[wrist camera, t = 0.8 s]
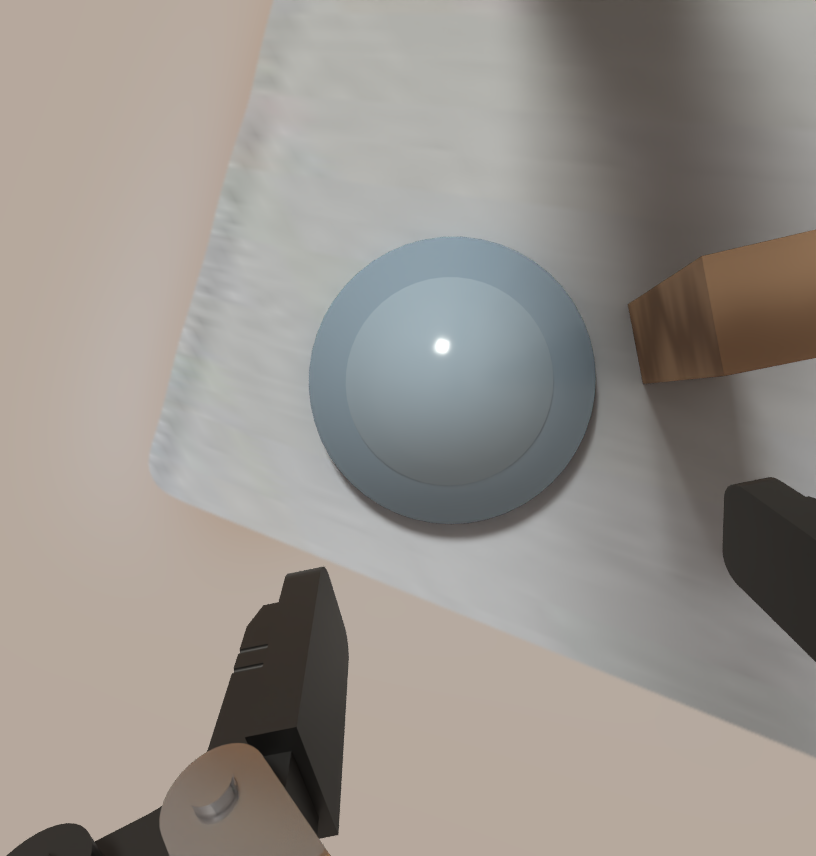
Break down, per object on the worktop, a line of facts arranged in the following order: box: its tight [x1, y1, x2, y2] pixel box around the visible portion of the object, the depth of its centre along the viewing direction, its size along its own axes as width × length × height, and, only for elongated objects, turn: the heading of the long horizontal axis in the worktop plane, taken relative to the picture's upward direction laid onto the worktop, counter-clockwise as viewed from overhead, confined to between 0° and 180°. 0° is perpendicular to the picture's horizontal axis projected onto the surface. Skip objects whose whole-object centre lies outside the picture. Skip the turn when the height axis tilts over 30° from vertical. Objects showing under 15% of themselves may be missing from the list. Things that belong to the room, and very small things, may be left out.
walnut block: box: [628, 230, 816, 384], centre depth 27 cm, size 5×5×11 cm
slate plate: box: [309, 237, 596, 524], centre depth 33 cm, size 18×18×1 cm
